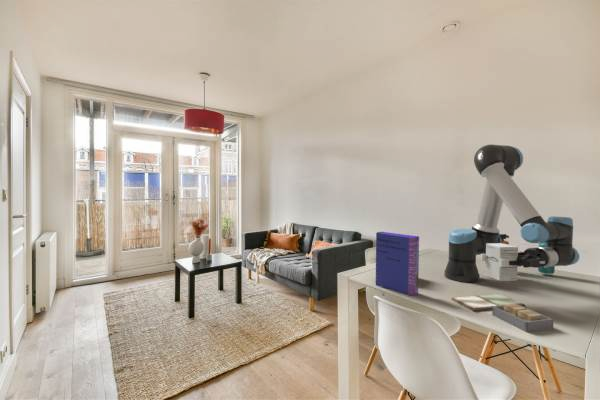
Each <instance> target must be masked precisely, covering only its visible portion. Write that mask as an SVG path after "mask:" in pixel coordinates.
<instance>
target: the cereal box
mask: <svg viewBox="0 0 600 400" xmlns="http://www.w3.org/2000/svg"><path fill="white" fill-rule="evenodd" d="M375 234H376V235H375V238H376V239H375V241H376V242H375V286H378V287H380V286H381V287H380V288H384V289H387V290H391V291H395V292H397V293H398V292H399V293H401V294H405V295H409V296H411V297H414V296H415V295H417V294H419V267H420V266H419V262H420V256H419V255H420V236H419V235H410V234H403V233H401V234H400V233H397V232H396V233H395V232H388V231H386V232H385V231H377V232H376V233H375Z"/></svg>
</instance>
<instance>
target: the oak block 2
mask: <svg viewBox="0 0 600 400" xmlns="http://www.w3.org/2000/svg"><path fill="white" fill-rule="evenodd" d="M530 310H531V309H530ZM530 310H519V311H518V318H520V319H522V320H525V321H535V320H541V315H540V314H541V313H539V314H537V313H538V312H537V313H535V312H536V311H535V312H533V311H534V310H532V311H530Z"/></svg>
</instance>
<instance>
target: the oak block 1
mask: <svg viewBox="0 0 600 400" xmlns="http://www.w3.org/2000/svg"><path fill="white" fill-rule="evenodd" d="M525 308H526V307H525ZM525 308H523V307H521V306H518V305H516V304H504V311H505V312H507V313H509V314H512V315H514V316H516V317H518V311H519V310H525Z"/></svg>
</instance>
